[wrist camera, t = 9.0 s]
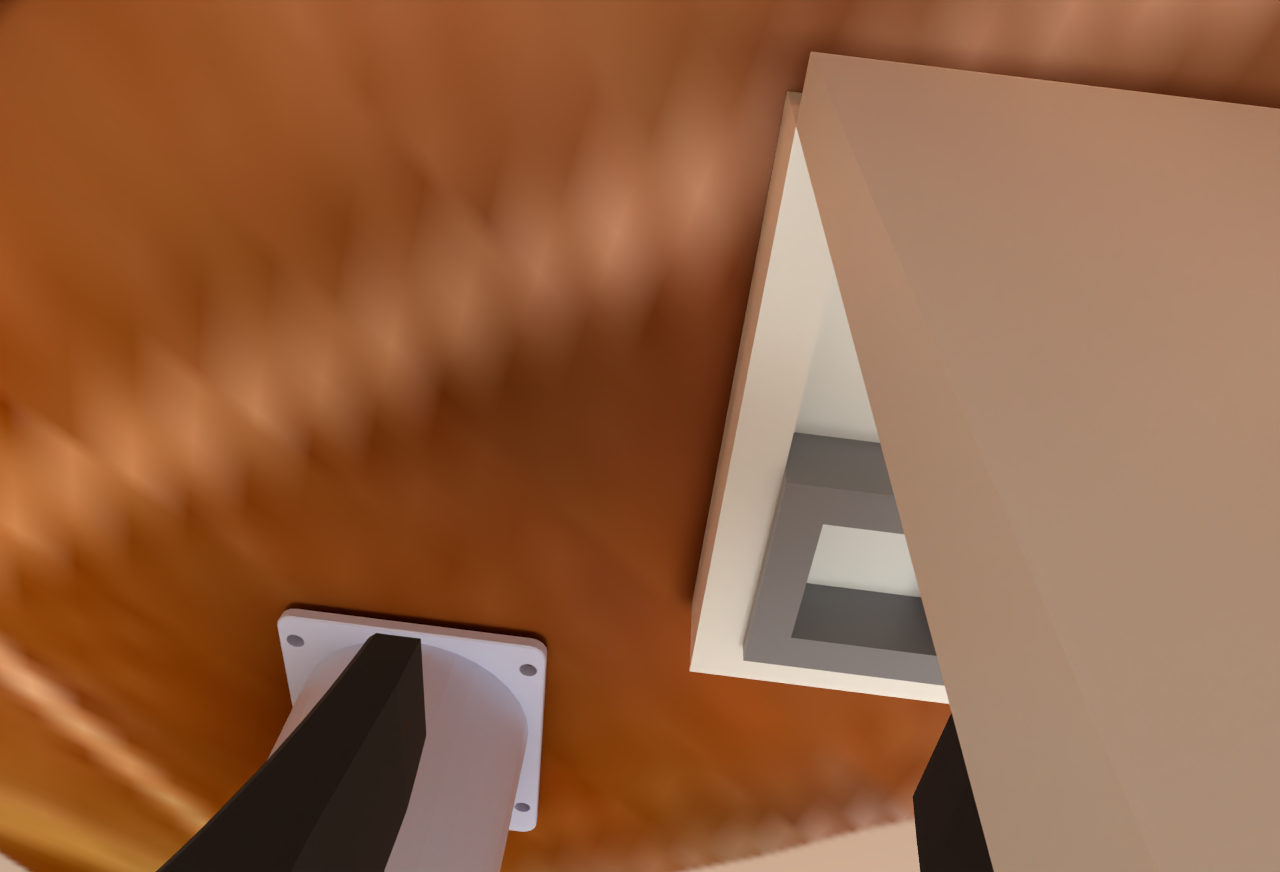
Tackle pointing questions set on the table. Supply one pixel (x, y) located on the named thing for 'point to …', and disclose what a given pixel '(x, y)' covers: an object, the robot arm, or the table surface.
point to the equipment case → (1021, 450)
